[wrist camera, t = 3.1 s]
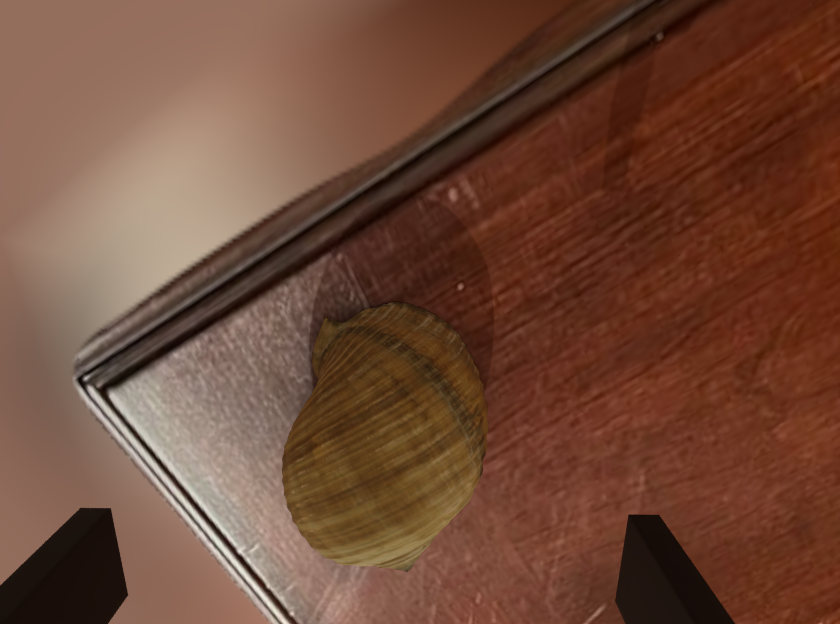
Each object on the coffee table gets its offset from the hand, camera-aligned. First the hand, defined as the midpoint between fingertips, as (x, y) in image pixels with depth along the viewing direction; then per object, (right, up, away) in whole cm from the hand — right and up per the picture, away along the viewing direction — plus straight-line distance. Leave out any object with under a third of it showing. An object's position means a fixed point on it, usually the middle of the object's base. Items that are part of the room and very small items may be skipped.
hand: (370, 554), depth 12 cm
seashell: (0, +2, +8) cm, 8 cm away
